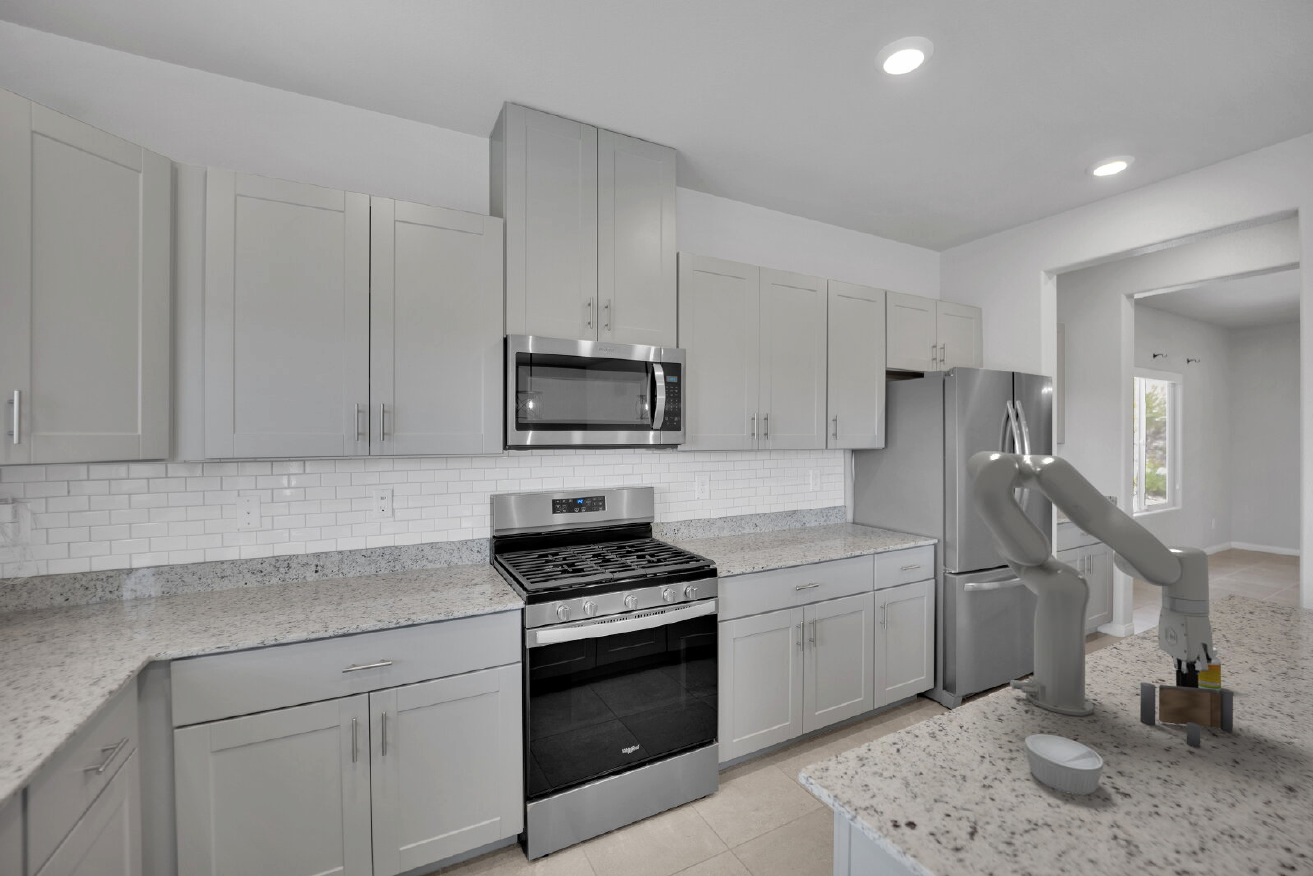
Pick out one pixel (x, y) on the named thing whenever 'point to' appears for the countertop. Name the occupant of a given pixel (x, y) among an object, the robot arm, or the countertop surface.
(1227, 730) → the post
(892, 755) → the countertop surface
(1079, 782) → the ramekin
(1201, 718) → the gate
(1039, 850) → the countertop surface
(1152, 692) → the gate frame
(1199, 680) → the supplement bottle
